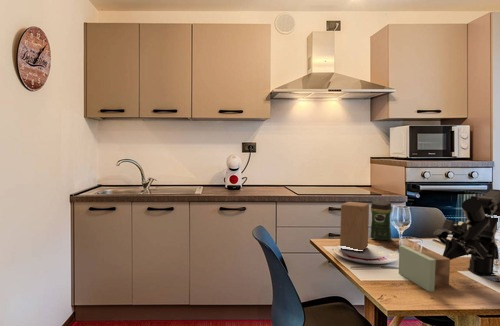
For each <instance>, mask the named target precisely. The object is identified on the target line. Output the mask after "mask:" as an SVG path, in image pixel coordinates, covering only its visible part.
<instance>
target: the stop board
mask: <svg viewBox="0 0 500 326" xmlns="http://www.w3.org/2000/svg"><path fill="white" fill-rule="evenodd" d="M398 250H399V251H398V253H399V254H398V255H399V256H398V274H399V275H401V276H403V277H404V278H406V279H407V280H409V281H411V282H412V283H414V284H416V285H417V286H419V287H420V288H422V289H424V290H425V291H426V292H435V286H436V285H435V263H436V260H435V259H433V258H430V257H428V256H426V255H424V254H422V253H420V251H417V250H415V249H413V248H411V247H409V246H407V245H402V244H401V245H399V248H398Z"/></svg>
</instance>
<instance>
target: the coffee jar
mask: <svg viewBox="0 0 500 326" xmlns="http://www.w3.org/2000/svg"><path fill="white" fill-rule="evenodd" d="M370 211H371V223H370V230H369V231H370V232H369V233H370V234H369V237H370V238H371V239H372V240H377V241H390V240H391V238H392V230H391V215H392V214H391V213H392V211H393V209H392V203H391V202H390V201H383V200H372V202H371V204H370Z"/></svg>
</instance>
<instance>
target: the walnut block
mask: <svg viewBox="0 0 500 326" xmlns="http://www.w3.org/2000/svg"><path fill="white" fill-rule="evenodd" d="M419 252H420V251H419ZM420 253H422V254H424V255H426V256H428V257H430V258H433V259H435V260H436V263H435V286H443V285H449V284H450V270H451V267H450V266H451V264H450V263H451V260H450V259H449V258H446V257H444V256H443V254H439V253H437V252H435V251H425V252H424V251H421V252H420Z"/></svg>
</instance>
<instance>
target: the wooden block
mask: <svg viewBox="0 0 500 326" xmlns="http://www.w3.org/2000/svg"><path fill="white" fill-rule="evenodd" d="M340 206H341V207H340V233H339V234H340V235H339V237H340V238H339V247H340V246H346V247H350V248H353V249H358V250H364V249H365V248H366V247H367V246H369V223H370V220H369V218H370V204H369V203H367V202H366V203H365V202H359V201H358V202H357V201H346V202H344V203H343V204H341V205H340ZM367 248H368V247H367ZM367 248H366V249H367ZM366 249H365V250H366ZM365 250H364V251H365Z"/></svg>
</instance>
